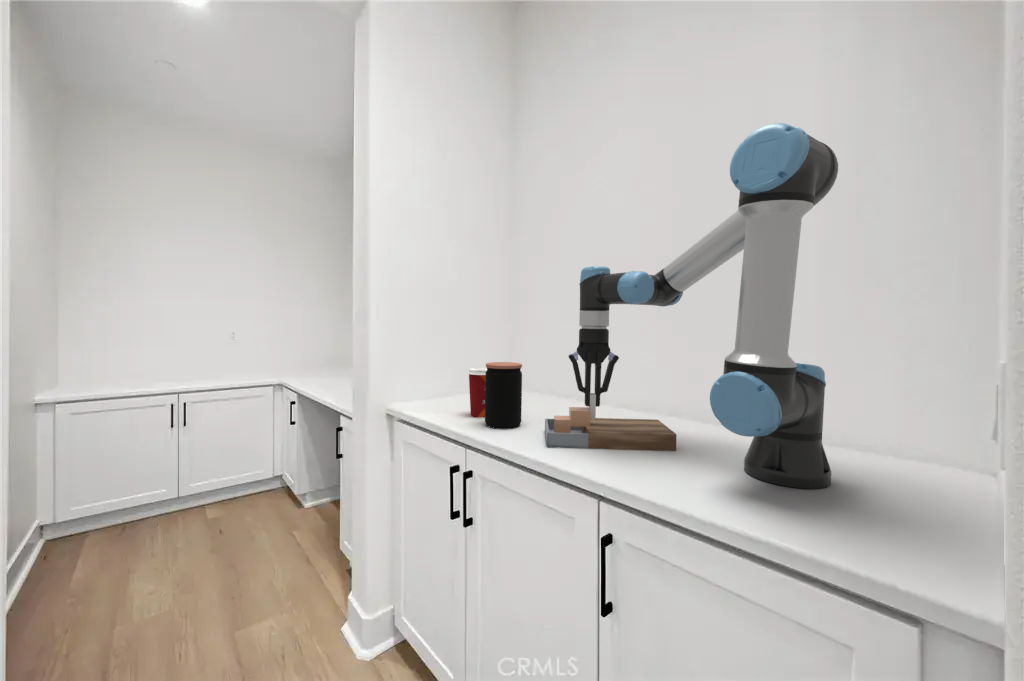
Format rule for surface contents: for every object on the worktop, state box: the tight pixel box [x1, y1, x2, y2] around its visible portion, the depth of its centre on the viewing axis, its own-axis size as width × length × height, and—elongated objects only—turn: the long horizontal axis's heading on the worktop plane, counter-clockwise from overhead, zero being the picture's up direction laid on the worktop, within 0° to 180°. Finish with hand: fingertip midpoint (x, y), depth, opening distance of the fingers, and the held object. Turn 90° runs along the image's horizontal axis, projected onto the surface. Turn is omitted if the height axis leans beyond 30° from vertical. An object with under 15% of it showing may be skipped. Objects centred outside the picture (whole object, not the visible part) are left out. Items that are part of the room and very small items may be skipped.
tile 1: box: [553, 415, 571, 433], centre depth 118 cm, size 5×5×4 cm
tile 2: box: [568, 406, 591, 427], centre depth 118 cm, size 5×5×4 cm
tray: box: [544, 418, 589, 449], centre depth 118 cm, size 16×10×4 cm, turn 178°
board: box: [581, 417, 677, 452], centre depth 118 cm, size 16×21×4 cm
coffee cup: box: [467, 367, 487, 418], centre depth 145 cm, size 8×8×15 cm
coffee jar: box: [484, 361, 523, 429], centre depth 133 cm, size 11×11×18 cm
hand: (591, 418), depth 118 cm, fingers closed
